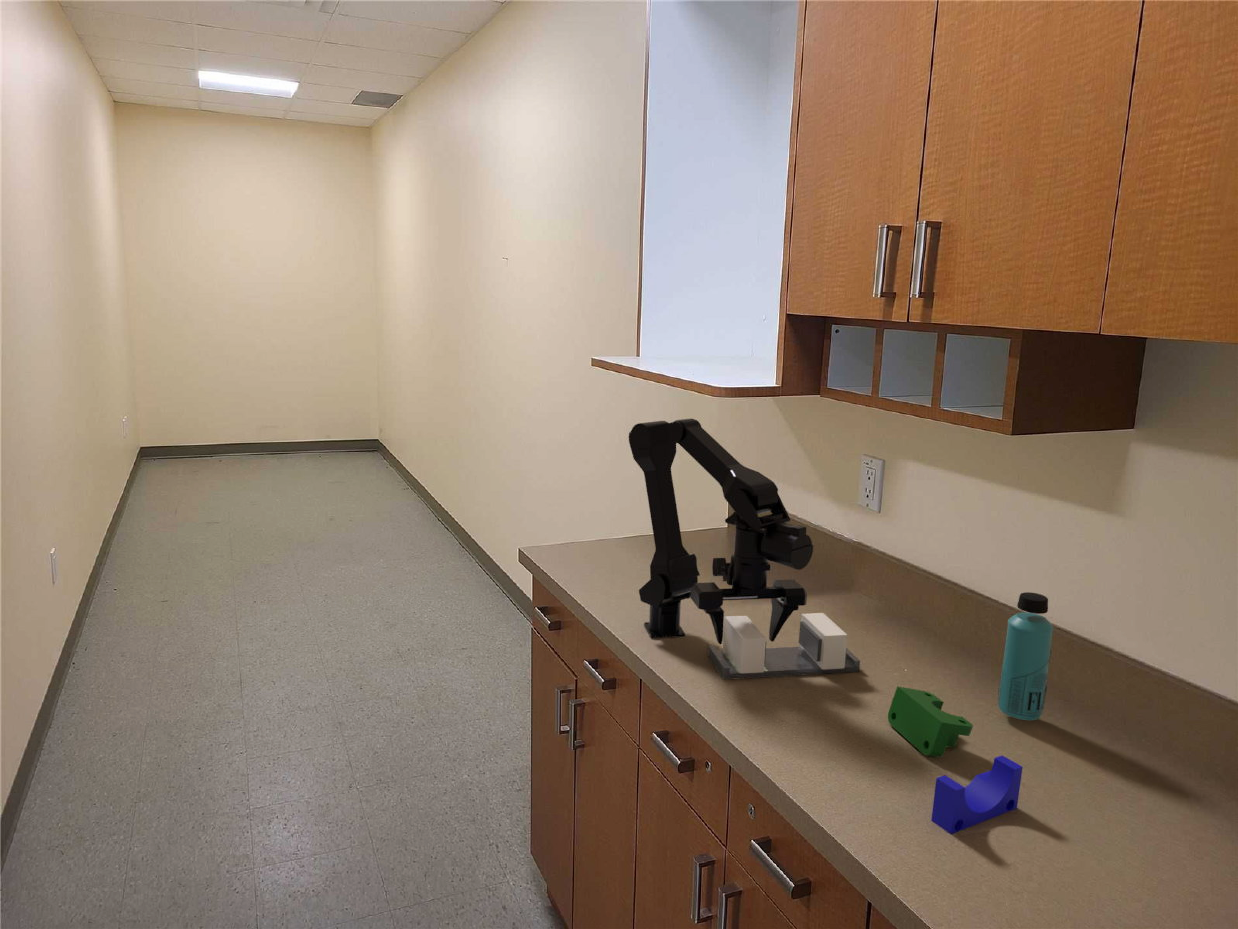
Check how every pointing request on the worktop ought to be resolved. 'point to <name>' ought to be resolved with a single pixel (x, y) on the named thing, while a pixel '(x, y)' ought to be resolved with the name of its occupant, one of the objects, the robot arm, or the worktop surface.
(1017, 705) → the beverage bottle
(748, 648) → the white rectangular prism
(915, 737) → the clamp
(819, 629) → the block
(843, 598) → the worktop surface
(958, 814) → the blue bracket
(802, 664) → the rail
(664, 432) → the robot arm
